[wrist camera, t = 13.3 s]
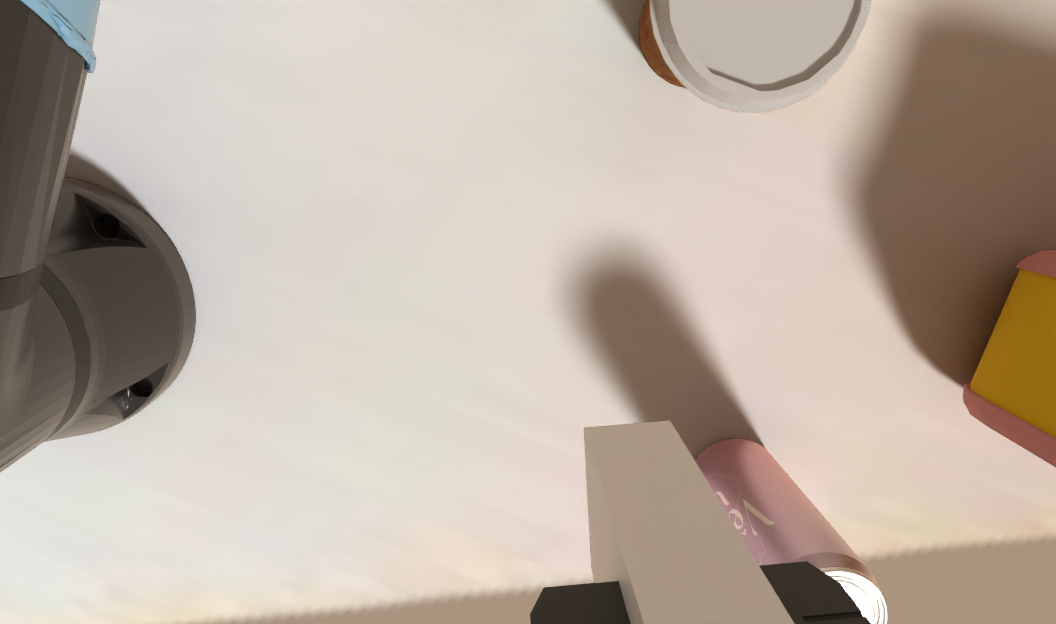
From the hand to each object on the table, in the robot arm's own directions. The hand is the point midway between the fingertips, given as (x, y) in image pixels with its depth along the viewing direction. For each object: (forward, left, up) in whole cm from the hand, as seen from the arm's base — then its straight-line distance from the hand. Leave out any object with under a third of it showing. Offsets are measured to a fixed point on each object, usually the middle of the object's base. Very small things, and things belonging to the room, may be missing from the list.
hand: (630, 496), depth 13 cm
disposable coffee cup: (+10, +11, -33) cm, 36 cm away
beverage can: (+12, -17, -33) cm, 39 cm away
